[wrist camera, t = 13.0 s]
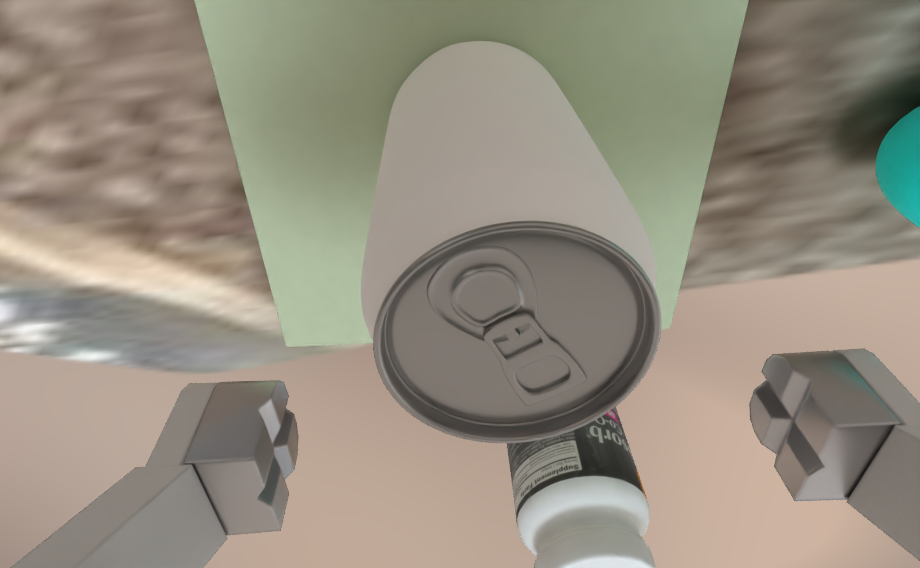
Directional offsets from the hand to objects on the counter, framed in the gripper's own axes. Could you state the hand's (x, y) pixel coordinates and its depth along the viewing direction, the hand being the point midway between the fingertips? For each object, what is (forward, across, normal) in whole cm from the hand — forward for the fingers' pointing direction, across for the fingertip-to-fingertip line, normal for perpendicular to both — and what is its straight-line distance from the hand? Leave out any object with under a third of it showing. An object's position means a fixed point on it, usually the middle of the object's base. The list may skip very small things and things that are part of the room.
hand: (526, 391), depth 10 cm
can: (+14, 0, +1) cm, 14 cm away
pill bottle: (+14, -4, +16) cm, 21 cm away
